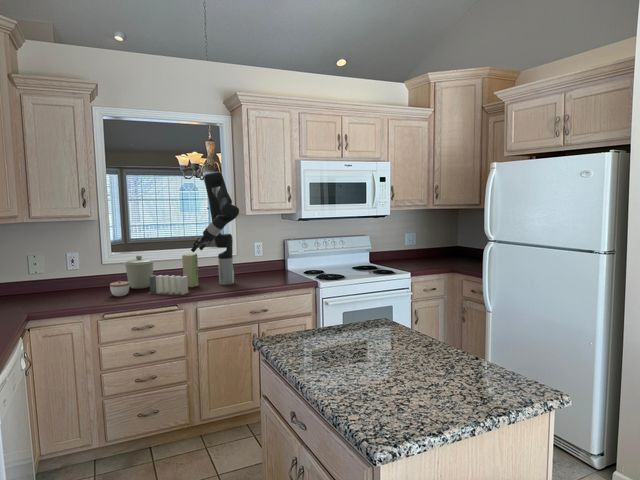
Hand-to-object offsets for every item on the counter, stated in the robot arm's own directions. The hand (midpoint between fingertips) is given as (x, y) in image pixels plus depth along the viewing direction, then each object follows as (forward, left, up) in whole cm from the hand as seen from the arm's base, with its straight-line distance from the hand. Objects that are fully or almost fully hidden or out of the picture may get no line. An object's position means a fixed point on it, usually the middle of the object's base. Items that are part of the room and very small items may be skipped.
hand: (196, 250), depth 264 cm
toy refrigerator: (+11, -24, -27) cm, 38 cm away
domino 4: (+17, -5, -26) cm, 32 cm away
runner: (+19, -5, -27) cm, 33 cm away
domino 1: (+29, -8, -26) cm, 40 cm away
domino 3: (+21, -6, -26) cm, 34 cm away
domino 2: (+25, -7, -26) cm, 37 cm away
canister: (+44, -24, -27) cm, 57 cm away
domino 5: (+13, -4, -26) cm, 29 cm away
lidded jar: (+47, -1, -27) cm, 54 cm away
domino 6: (+9, -3, -26) cm, 28 cm away
